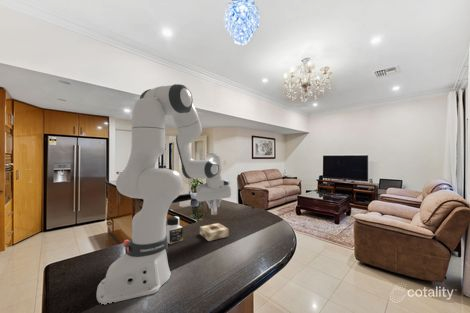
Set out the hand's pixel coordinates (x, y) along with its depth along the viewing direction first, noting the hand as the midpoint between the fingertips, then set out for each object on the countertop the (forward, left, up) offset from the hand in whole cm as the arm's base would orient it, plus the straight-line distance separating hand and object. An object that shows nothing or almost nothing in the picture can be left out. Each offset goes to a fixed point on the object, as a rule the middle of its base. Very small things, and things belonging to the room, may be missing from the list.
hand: (214, 207), depth 110 cm
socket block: (0, 0, -15) cm, 15 cm away
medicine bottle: (-21, +5, -16) cm, 27 cm away
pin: (0, 0, -4) cm, 4 cm away
